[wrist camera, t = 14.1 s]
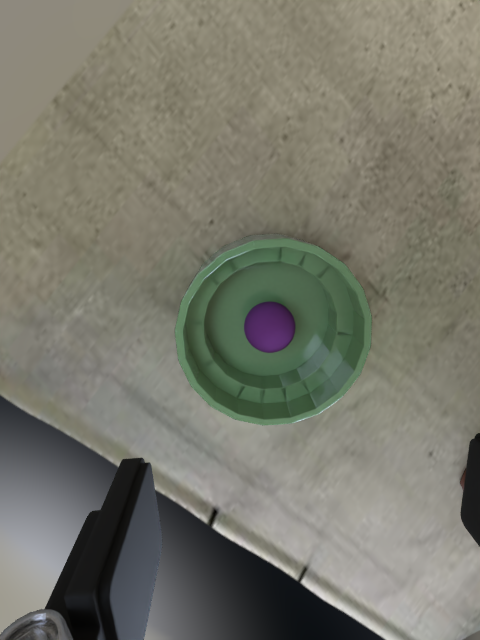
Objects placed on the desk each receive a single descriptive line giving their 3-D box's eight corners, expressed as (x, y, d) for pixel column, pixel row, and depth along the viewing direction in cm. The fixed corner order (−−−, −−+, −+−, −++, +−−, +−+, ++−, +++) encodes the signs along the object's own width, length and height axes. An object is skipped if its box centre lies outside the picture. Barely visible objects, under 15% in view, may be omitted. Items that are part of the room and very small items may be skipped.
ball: (244, 343, 35) (246, 363, 31) (241, 297, 33) (243, 311, 29) (291, 340, 35) (300, 359, 31) (290, 294, 33) (299, 307, 29)
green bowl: (193, 396, 37) (186, 431, 31) (175, 239, 32) (164, 246, 27) (346, 385, 37) (368, 418, 31) (349, 227, 33) (375, 232, 27)
